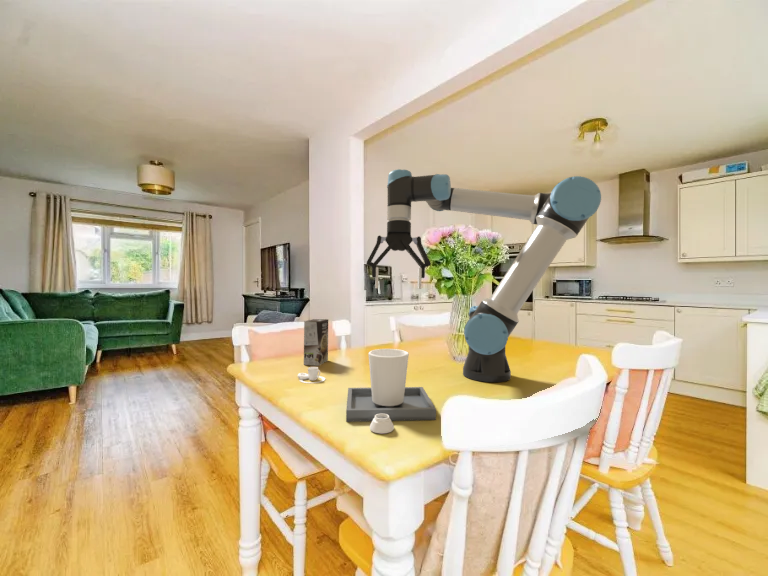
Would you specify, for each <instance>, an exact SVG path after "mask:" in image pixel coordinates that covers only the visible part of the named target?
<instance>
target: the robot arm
mask: <svg viewBox="0 0 768 576" xmlns="http://www.w3.org/2000/svg"><path fill="white" fill-rule="evenodd" d="M412 175H413V174H412V172H411V170H407V169H399V168H398V169H393V170H391V171H390V172H389V174H388V175H387V176H388V177H387V186H386V188H387V211H386V214H387V216H386V217H387V220H388V221H387V223H386V236H381V235H378V236H377V238H376V243H375V245H374V248H373V249H372V251H371V253H370V254H369V257H368V259H367V261H366V265H367V266H369V267H371V277H372V278H375V284H374V285H375V287H374V288H375V289H379V267H378V264H379V263H380V262H381V261H382V260H383V259H384V257H385V256H386V255H387V254H388V253H389V252H390V251H393V252H396V251H400V252H404V251H406V252H407V253H408V254H409V255H410V256H411V257H412V259H413V261H415V263H416V264H417V265H418V266H419V267H417V289H419V290H421V289H422V279H424V278H425V275H426V268H427V267H430V266H431V265H432V264H431V261H430V259H429V257H428V255H427V252H426V250H425V248H424V246H423V244H422V237H421V236H417V237H416V236H415V237H412V234H411V233H412V223H411V220H412V202H414V203H415V202H416V203H417V202H426V204H427V205H428V207H429V208H431V210H433V211H435V212H443V211H452V212H460V213H469V214H476V215H484V216H493V217H500V218H507V219H508V218H509V219H514V220H515V219H516V220H517V219H518V220H524V221H529V222H530V223H531V224H532V225H536V226H535V228H534V229H533V231H532V233H531V235H530V236H529V238H528V239H527V240H526V242H525V244H524V245H523V247H522V248H521V250H520V251H519V253H518V254H517V256H516V257H515V259H514V260H513V262H512V264H511V265H510V267H509V268H508V270H507V271H506V272H505V274H504V276H503V278H502V279H501V281H500V282H499V283H498V285H497V286H496V288H495V290H494V291H493V293H492V294H491V296H490V297H489V298H483V299H482V300H481V301H480V303H479V304H478V305H473V306H470V308H469V310H468V311H469V312H468V317H469V319H468V320H467V321H466V323H465V325H464V331H463V335H464V338H465V342H466V343H467V345H468V353H467V355H466V358H465V360H464V364H463V367H462V375H463V376H464V377H466V378H467V379H470V380H474V381H478V382H486V383H502V382H508V381H510V380H511V379H512V378H511V377H512V376H511V372H512V371H511V367H510V364H509V361H508V359H507V355H506V345H507V342H508V341H509V337H510V335H511V334H512V333H513V331H514V329H515V328H516V326H517V325H518V324H519V321H520V320H519V317H518V313H519V312H520V311H521V309H522V307H523V306H524V304H525V303H526V302H527V300H528V298H529V297H530V295H531V294H532V293H533V291H534V289H535V288H536V286H537V285H538V283H539V282H540V280H541V279H542V278H543V276H544V274H545V273H546V272H547V270H548V268H549V267H550V265H551V264H552V263H553V261H554V260H555V258H556V257H557V255H558V254H559V252H560V251H561V250H562V248H563V246H564V245H565V244H566V242H567V241H569V240H571V239H575V238H576V237H578V235H579V233H580V232H581V230H582V229H583V228H584V226H585V225H586V223H587V222H588V221H589V218H590V217H592V216H593V215H595V214H596V213H597V211H598V209H599V207H600V205H601V201H602V193H601V190H600V187H599V186H598V184H597V183H596V182H594V181H593V180H592V179H590V178H588V177H585V176H580V175H579V176H578V175H576V176H570V177H567V178H564V179H563V180H561V181H560V182H558V183H557V184H556V185H555V186H554V187H553V188H552V190H551V192H549V193H545V192H538V193H537V194H535V195H532V194H522V193H521V194H520V193H511V192H499V191H490V190H481V189H479V190H478V189H470V188H460V187H452V186H451V177H450V176H449V175H448V174H444V173H443V174H438V173H436V174H429V175H419V176H412ZM384 241H385V242H386V244H387V245H388V246H387V247H386V248H385V249H384V251H383V252H382V253H381V254H380V255H379V256H378V257H377V259H375V261H374V262H372V261H373V259H374V257H375V256H376V254H377V251H378V250H379V247H380V246H381V244H383V243H384ZM411 243H413V244H414V245H416V247H417V249H418V252H419V254H420V257H421V258H422V260H423V261H422V260H421V258H420V257H419V255H418V254H417V253H416V252H415V251H414V249H413V248H412V246H411V245H410V244H411Z"/></svg>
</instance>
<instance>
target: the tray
mask: <svg viewBox="0 0 768 576" xmlns="http://www.w3.org/2000/svg"><path fill="white" fill-rule="evenodd" d="M346 399H347V401H346V408H345V409H346V410H345V412H346V413H345V422H346V423H347V422H350V423H351V422H352V423H353V422H356V423H357V422H372V420H373V419H374V417H375V415H376V414H380V413H384V414H387V415H389V418H390V419H391V421H392V422H395V421H396V422H399V421H402V422H404V421H407V422H408V421H409V422H410V421H437V408H436V407H435V405H434V404H433V402H432V400H431V398H430V397H429V395H428V393H427V392H426V390H425V389H424V386H405V393H404V401H403V404H402V406H400V407H398V406H395V407H394V408H386V407H385V406H382V407H376V406H375V404H374V402H373V401H372V391H371V387H348V388H347V398H346Z"/></svg>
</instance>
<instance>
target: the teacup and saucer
mask: <svg viewBox="0 0 768 576" xmlns="http://www.w3.org/2000/svg"><path fill="white" fill-rule="evenodd" d="M297 378H298V379H299V382H300V383H302V384H303V383H304V384H319V383H322V382H324V381H326V377H324V376H321V370H320V369H319V366H310V367H307V373H306V372H299V373H298V374H297ZM318 378H319V379H321V380H320V381H316V380H317V379H318ZM305 380H309V381H315V382H309V381H308V382H307V381H305Z"/></svg>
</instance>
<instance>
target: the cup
mask: <svg viewBox="0 0 768 576" xmlns="http://www.w3.org/2000/svg"><path fill="white" fill-rule="evenodd" d="M368 365H369V377H370V388H371V391H372V401H373V402H374V404H375V406H376V407H382V406H385V407H386V408H394V407H395V406H398V407H400V406H402V404H403V401H404V393H405V387H406V381H407V375H408V373H407V372H408V371H407V370H408V365H409V352H408V351H406V350H403V349H399V348H378V349H372V350H370V351H369V352H368Z"/></svg>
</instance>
